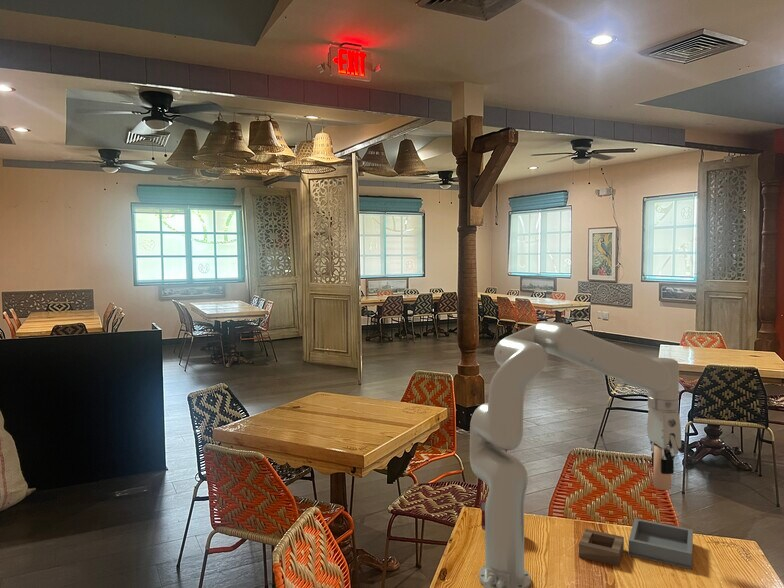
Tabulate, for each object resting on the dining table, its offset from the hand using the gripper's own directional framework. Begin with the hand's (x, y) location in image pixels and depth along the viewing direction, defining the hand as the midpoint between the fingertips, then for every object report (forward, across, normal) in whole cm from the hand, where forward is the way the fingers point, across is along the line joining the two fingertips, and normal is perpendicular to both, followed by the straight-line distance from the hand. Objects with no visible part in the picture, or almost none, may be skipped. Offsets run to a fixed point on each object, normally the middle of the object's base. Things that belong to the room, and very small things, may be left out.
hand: (662, 469), depth 150 cm
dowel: (+5, 0, 0) cm, 5 cm away
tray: (+22, 0, 0) cm, 22 cm away
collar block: (+22, -2, +17) cm, 28 cm away
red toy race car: (+22, +9, +42) cm, 49 cm away
